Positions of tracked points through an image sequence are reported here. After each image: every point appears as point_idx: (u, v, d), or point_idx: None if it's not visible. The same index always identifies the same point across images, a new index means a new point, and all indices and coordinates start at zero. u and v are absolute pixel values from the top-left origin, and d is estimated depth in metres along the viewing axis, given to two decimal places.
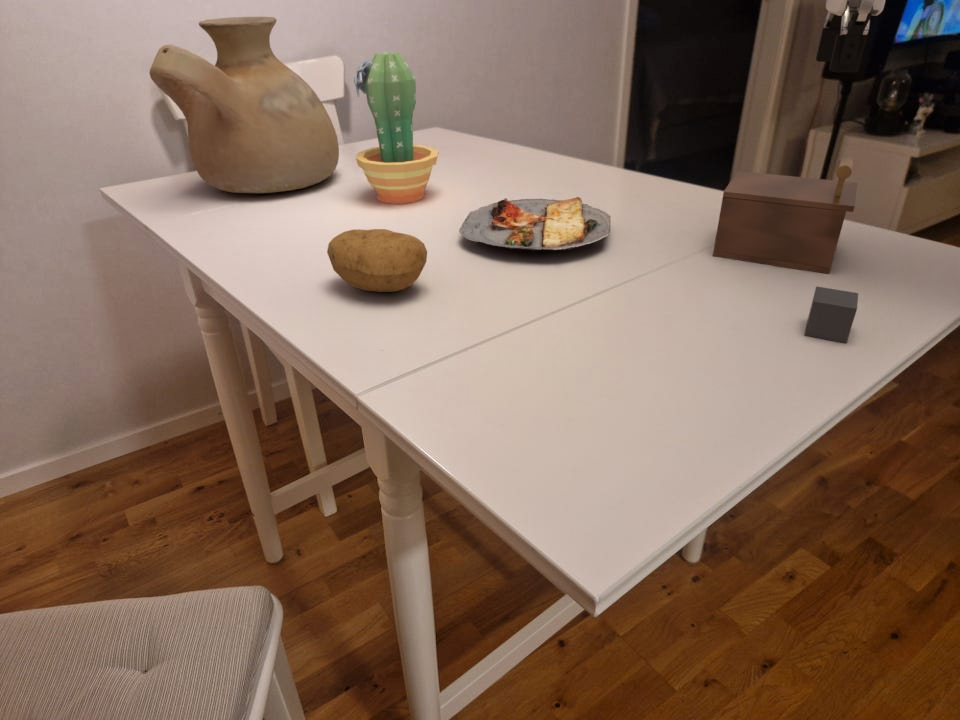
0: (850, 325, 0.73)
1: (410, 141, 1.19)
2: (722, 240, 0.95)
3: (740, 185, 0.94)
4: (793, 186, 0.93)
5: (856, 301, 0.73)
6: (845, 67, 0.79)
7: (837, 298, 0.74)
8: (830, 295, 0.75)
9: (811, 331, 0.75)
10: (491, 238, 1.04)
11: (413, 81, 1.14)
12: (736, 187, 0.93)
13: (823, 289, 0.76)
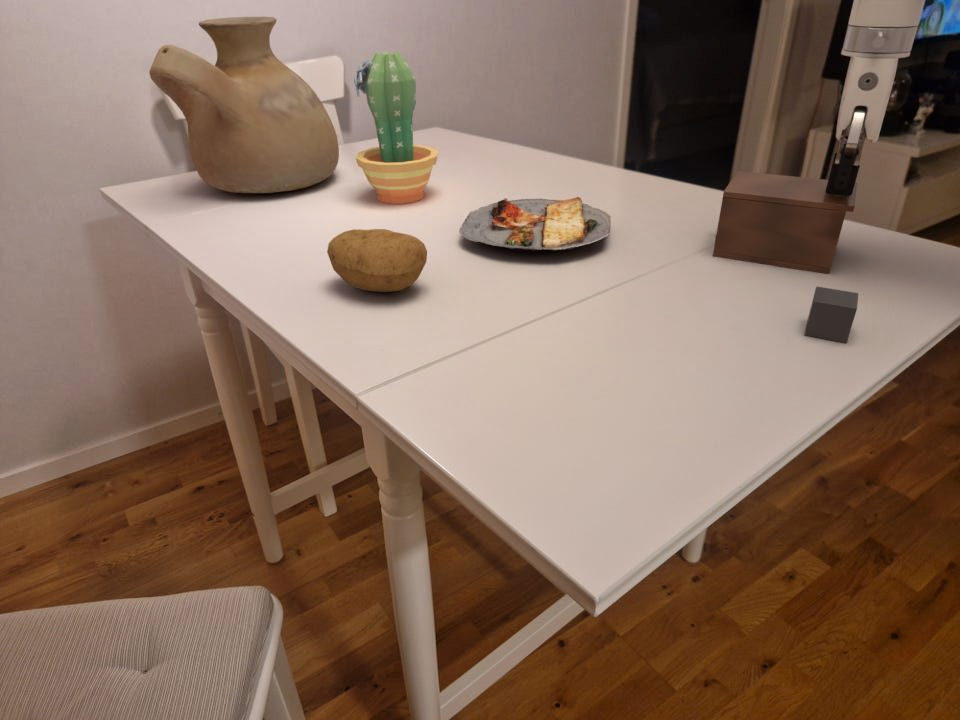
0: (850, 325, 0.73)
1: (410, 141, 1.19)
2: (722, 240, 0.95)
3: (740, 185, 0.94)
4: (793, 186, 0.93)
5: (856, 301, 0.73)
6: (839, 191, 0.87)
7: (837, 298, 0.74)
8: (830, 295, 0.75)
9: (811, 331, 0.75)
10: (491, 238, 1.04)
11: (413, 81, 1.14)
12: (736, 187, 0.93)
13: (823, 289, 0.76)
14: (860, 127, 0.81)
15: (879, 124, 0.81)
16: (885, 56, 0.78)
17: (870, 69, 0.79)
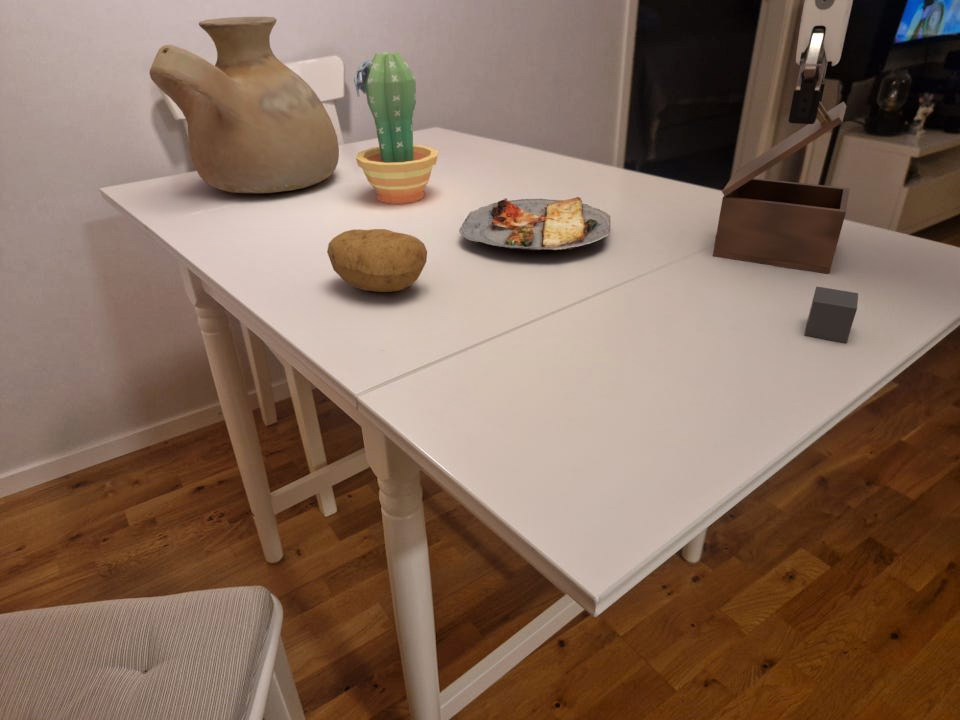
0: (850, 325, 0.73)
1: (410, 141, 1.19)
2: (722, 240, 0.95)
3: (736, 178, 0.94)
4: (783, 145, 0.91)
5: (856, 301, 0.73)
6: (802, 119, 0.86)
7: (837, 298, 0.74)
8: (830, 295, 0.75)
9: (811, 331, 0.75)
10: (491, 238, 1.04)
11: (413, 81, 1.14)
12: (733, 181, 0.93)
13: (823, 289, 0.76)
14: (819, 48, 0.79)
15: (838, 44, 0.79)
16: None
17: None
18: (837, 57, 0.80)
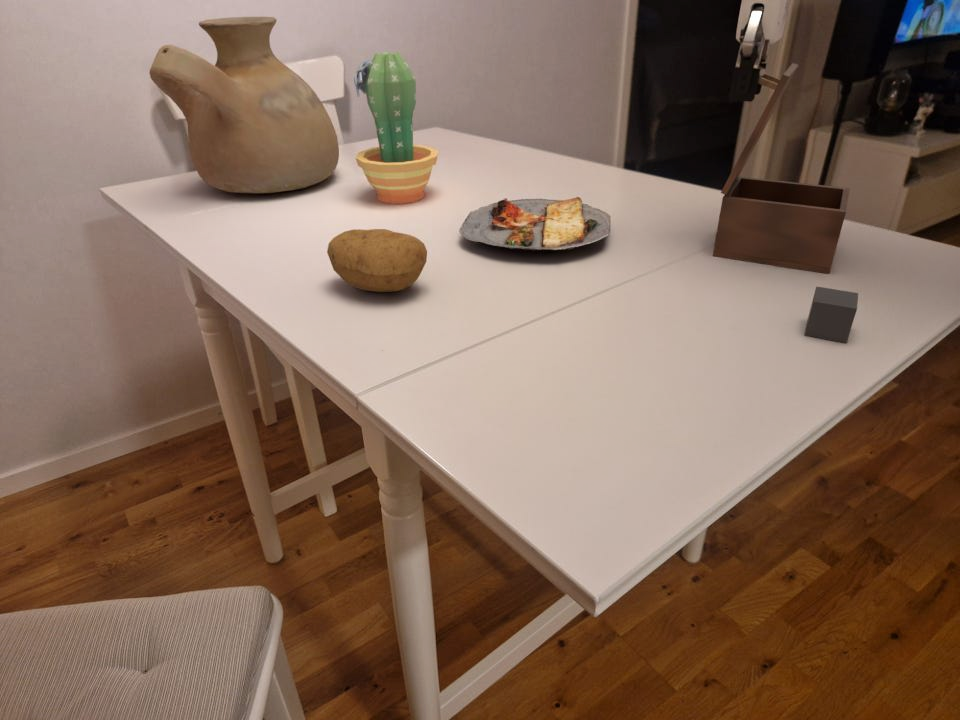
0: (850, 325, 0.73)
1: (410, 141, 1.19)
2: (722, 240, 0.95)
3: None
4: None
5: (856, 301, 0.73)
6: (741, 96, 0.88)
7: (837, 298, 0.74)
8: (830, 295, 0.75)
9: (811, 331, 0.75)
10: (491, 238, 1.04)
11: (413, 81, 1.14)
12: None
13: (823, 289, 0.76)
14: (756, 25, 0.81)
15: (775, 23, 0.81)
16: None
17: None
18: (774, 35, 0.82)
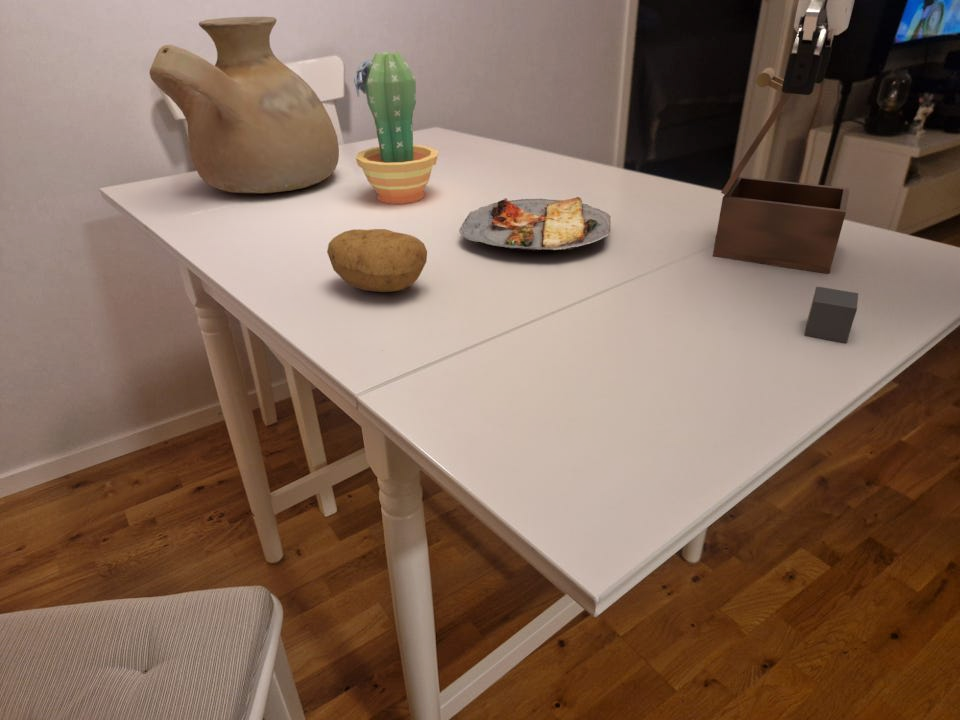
0: (850, 325, 0.73)
1: (410, 141, 1.19)
2: (722, 240, 0.95)
3: None
4: None
5: (856, 301, 0.73)
6: (798, 89, 0.73)
7: (837, 298, 0.74)
8: (830, 295, 0.75)
9: (811, 331, 0.75)
10: (491, 238, 1.04)
11: (413, 81, 1.14)
12: None
13: (823, 289, 0.76)
14: None
15: (843, 9, 0.68)
16: None
17: None
18: (841, 24, 0.69)
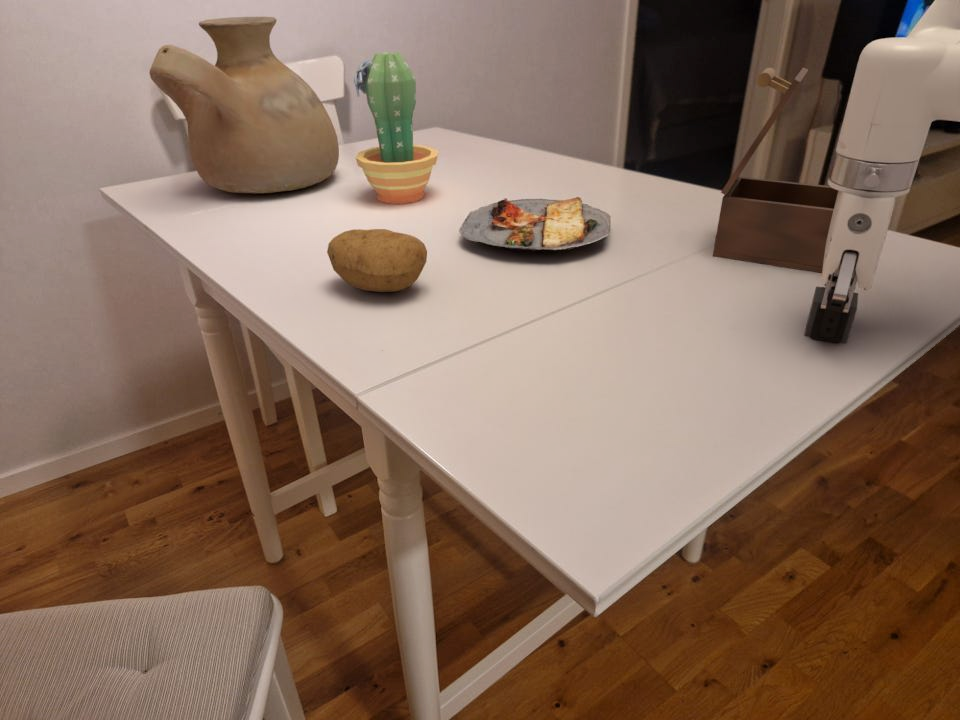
0: (850, 325, 0.73)
1: (410, 141, 1.19)
2: (722, 240, 0.95)
3: None
4: None
5: (856, 301, 0.73)
6: (826, 336, 0.74)
7: None
8: None
9: None
10: (491, 238, 1.04)
11: (413, 81, 1.14)
12: None
13: (823, 289, 0.76)
14: (850, 276, 0.67)
15: (873, 272, 0.67)
16: (880, 195, 0.65)
17: (862, 210, 0.65)
18: (871, 284, 0.68)
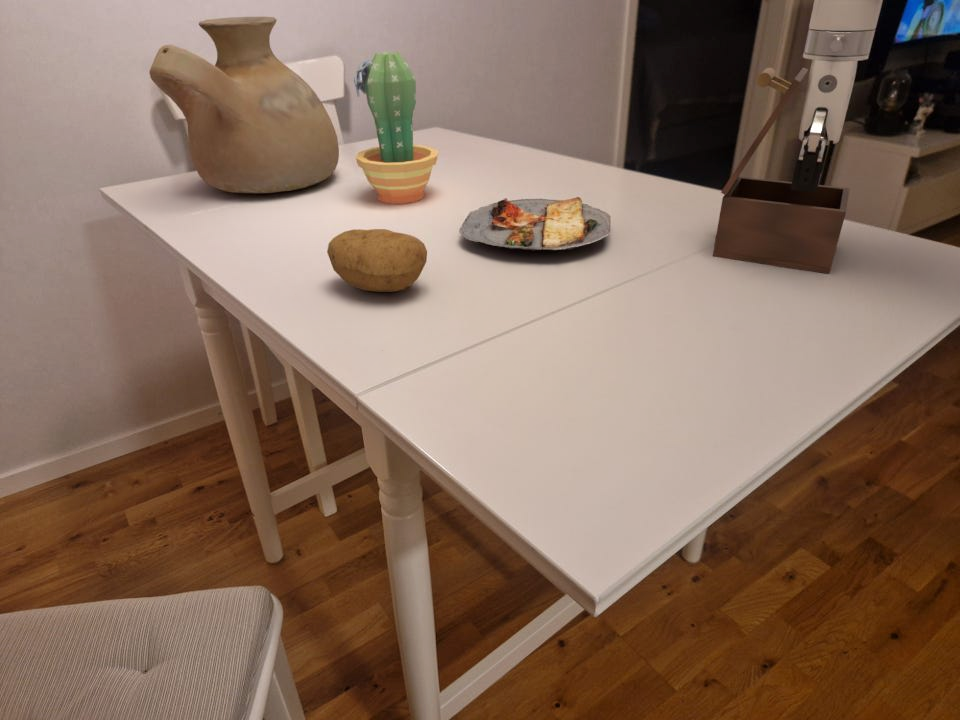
0: None
1: (410, 141, 1.19)
2: (722, 240, 0.95)
3: None
4: None
5: None
6: (804, 187, 0.87)
7: None
8: None
9: None
10: (491, 238, 1.04)
11: (413, 81, 1.14)
12: None
13: None
14: (822, 120, 0.82)
15: (839, 125, 0.83)
16: (843, 59, 0.80)
17: (829, 72, 0.81)
18: (838, 137, 0.83)
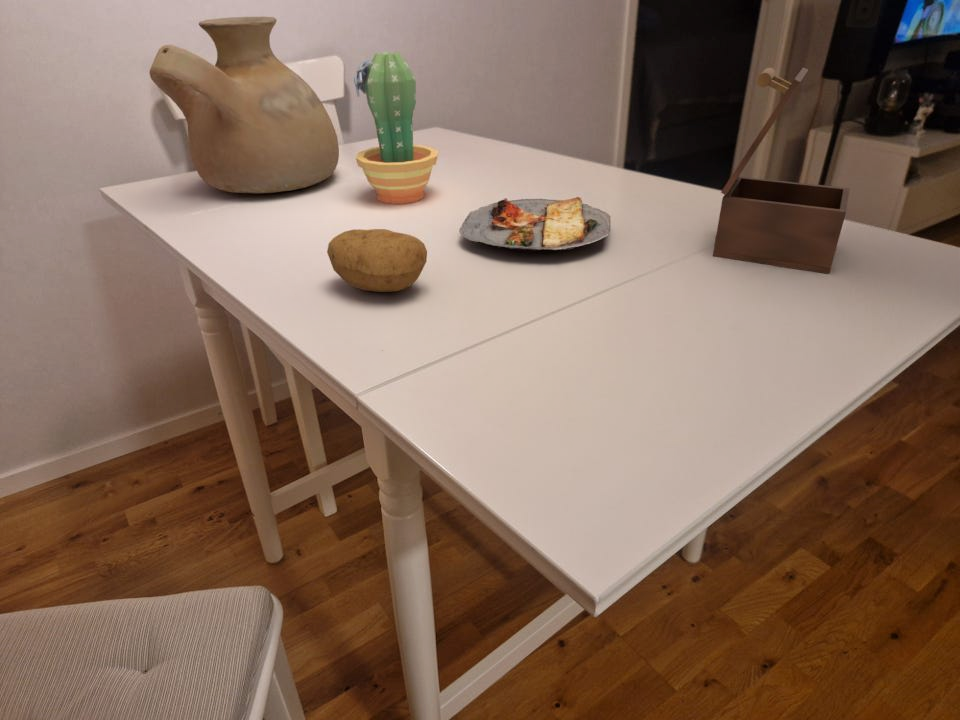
0: None
1: (410, 141, 1.19)
2: (722, 240, 0.95)
3: None
4: None
5: None
6: (862, 22, 0.76)
7: None
8: None
9: None
10: (491, 238, 1.04)
11: (413, 81, 1.14)
12: None
13: None
14: None
15: None
16: None
17: None
18: None
